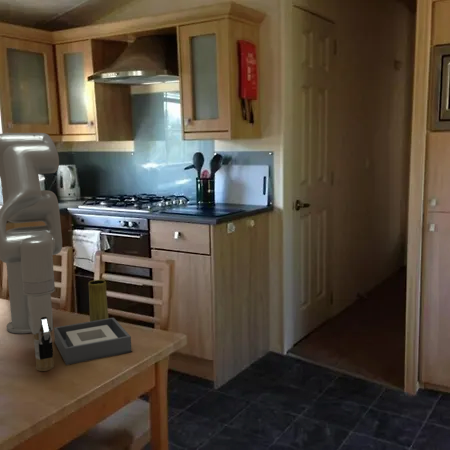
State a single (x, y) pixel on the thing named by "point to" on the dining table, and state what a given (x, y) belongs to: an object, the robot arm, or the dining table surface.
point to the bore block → (89, 335)
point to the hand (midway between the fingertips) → (43, 351)
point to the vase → (98, 300)
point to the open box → (95, 348)
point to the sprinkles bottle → (40, 364)
